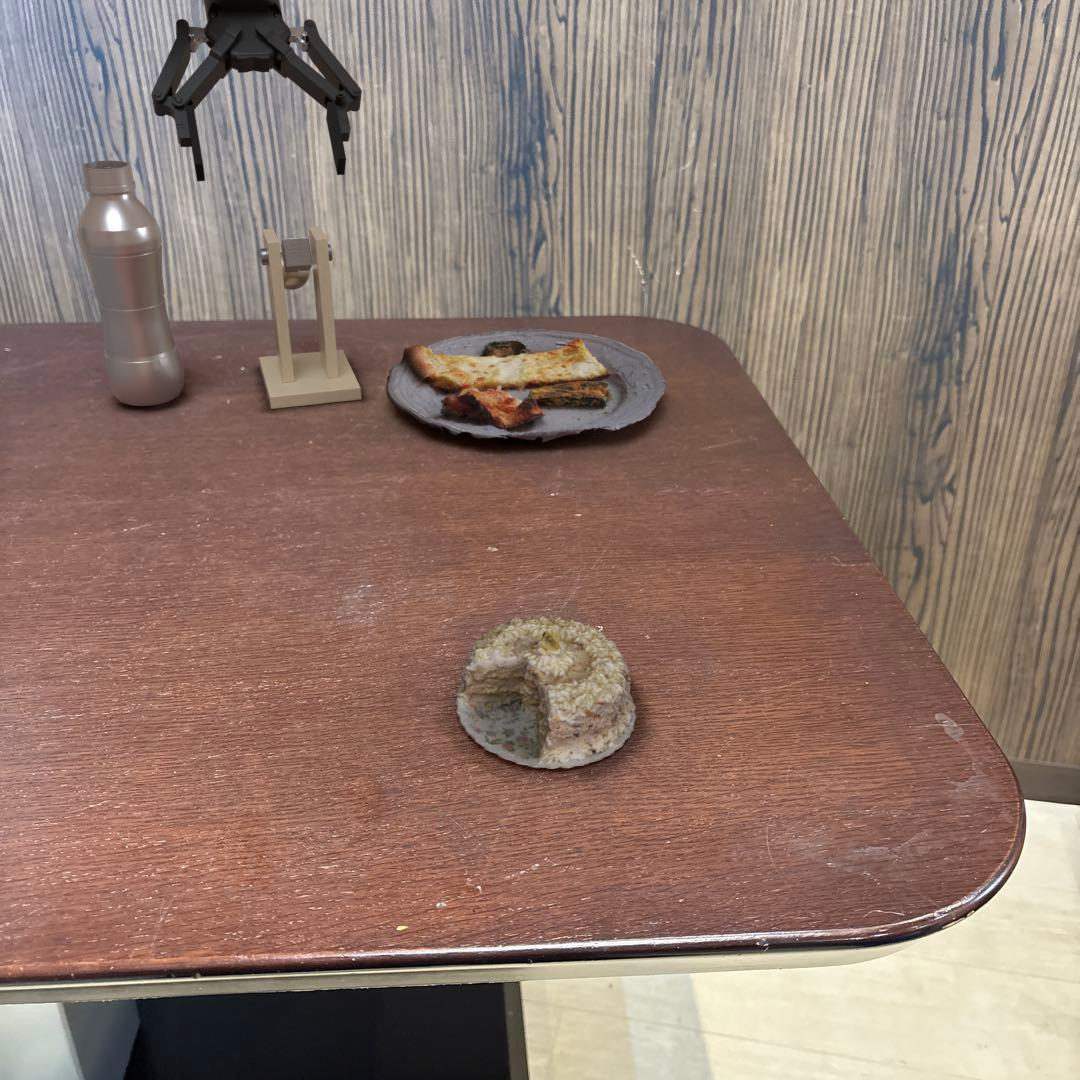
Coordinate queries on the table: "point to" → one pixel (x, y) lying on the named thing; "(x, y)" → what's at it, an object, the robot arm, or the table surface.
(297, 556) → the table surface
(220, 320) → the table surface
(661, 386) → the food plate
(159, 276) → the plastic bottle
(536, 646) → the cake
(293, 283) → the lever
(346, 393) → the bracket
